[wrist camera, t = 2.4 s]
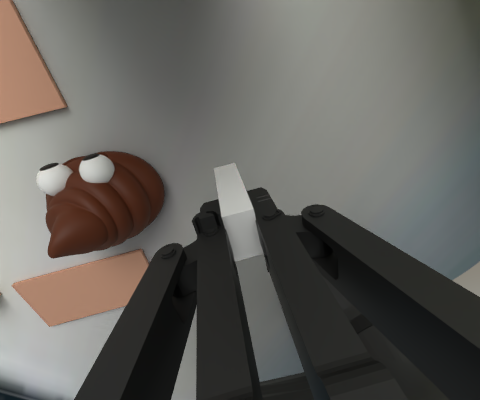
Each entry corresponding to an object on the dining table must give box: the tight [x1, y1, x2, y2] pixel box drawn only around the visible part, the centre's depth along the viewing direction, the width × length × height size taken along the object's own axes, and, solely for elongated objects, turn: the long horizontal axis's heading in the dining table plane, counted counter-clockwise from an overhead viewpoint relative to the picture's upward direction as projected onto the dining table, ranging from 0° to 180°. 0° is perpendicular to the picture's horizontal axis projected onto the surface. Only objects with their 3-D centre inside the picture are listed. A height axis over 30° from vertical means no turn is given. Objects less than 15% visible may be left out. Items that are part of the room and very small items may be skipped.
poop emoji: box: [36, 151, 165, 258], centre depth 19 cm, size 10×8×9 cm
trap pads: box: [0, 0, 149, 327], centre depth 23 cm, size 29×14×1 cm, turn 12°
